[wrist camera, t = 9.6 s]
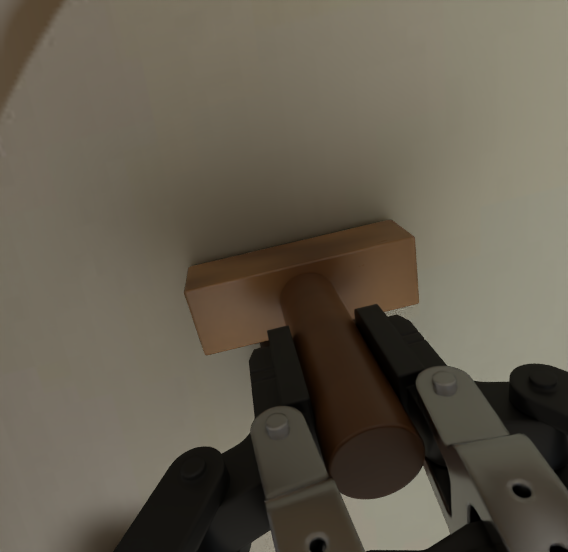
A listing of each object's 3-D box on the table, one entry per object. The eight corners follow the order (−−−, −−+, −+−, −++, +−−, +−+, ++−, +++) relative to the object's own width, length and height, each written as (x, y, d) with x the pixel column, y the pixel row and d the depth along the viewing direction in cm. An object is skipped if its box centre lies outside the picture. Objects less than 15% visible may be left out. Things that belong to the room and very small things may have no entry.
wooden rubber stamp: (207, 325, 19) (192, 561, 9) (187, 266, 18) (147, 469, 8) (396, 279, 19) (568, 460, 10) (391, 218, 18) (582, 357, 8)
